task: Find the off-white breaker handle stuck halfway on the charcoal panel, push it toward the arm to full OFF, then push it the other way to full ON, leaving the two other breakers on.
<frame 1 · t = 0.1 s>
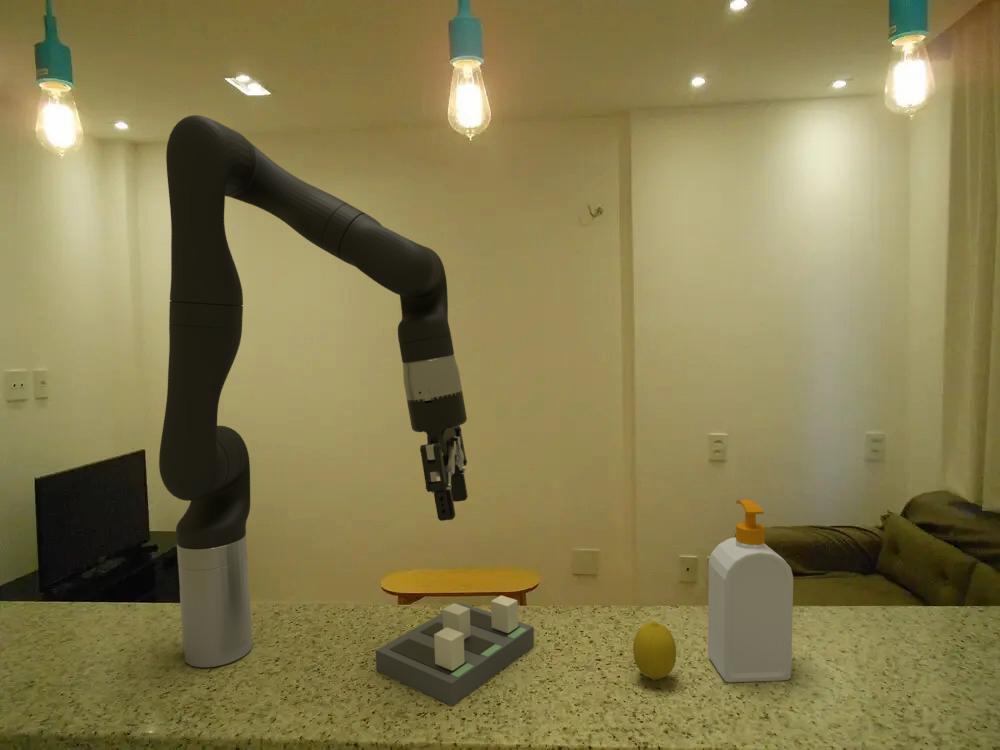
hand: (454, 509, 88), 22 cm above the counter, tool pointing down, fingers open, 8 cm apart
breaker 2: (504, 613, 94), point 5 cm above the counter, slide at 8.0 cm
breaker 1: (449, 648, 85), point 5 cm above the counter, slide at 8.0 cm
breaker tripped: (456, 622, 92), point 5 cm above the counter, slide at 4.0 cm
soap bottle: (747, 669, 88), on the counter
breaker panel: (457, 658, 92), on the counter
lemon: (654, 681, 86), on the counter
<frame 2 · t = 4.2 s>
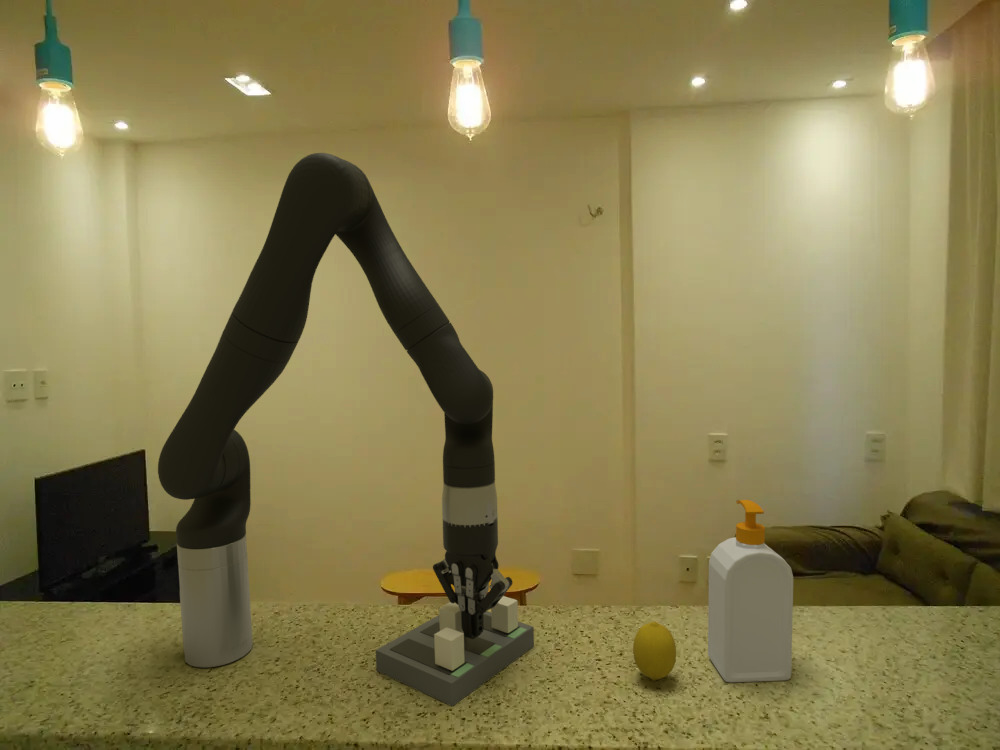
hand: (472, 635, 90), 4 cm above the counter, tool pointing down, fingers closed
breaker tripped: (452, 621, 92), point 5 cm above the counter, slide at 3.3 cm, touching gripper
everything else where it was.
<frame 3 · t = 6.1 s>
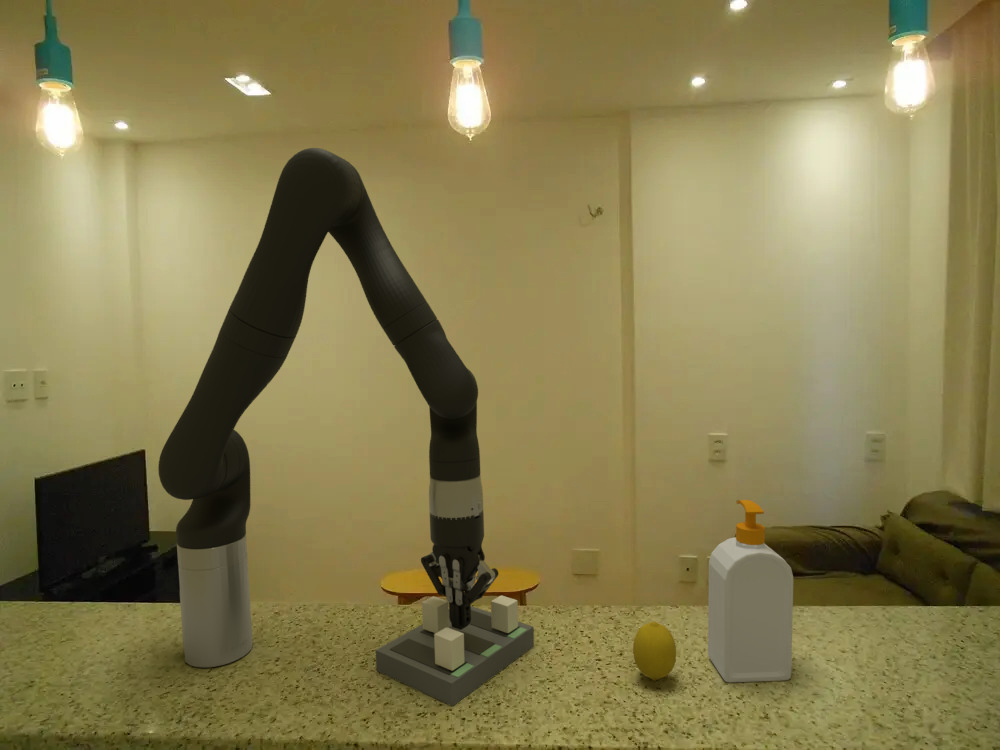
hand: (460, 626, 92), 5 cm above the counter, tool pointing down, fingers closed
breaker tripped: (435, 614, 94), point 5 cm above the counter, slide at -0.1 cm
everything else where it was.
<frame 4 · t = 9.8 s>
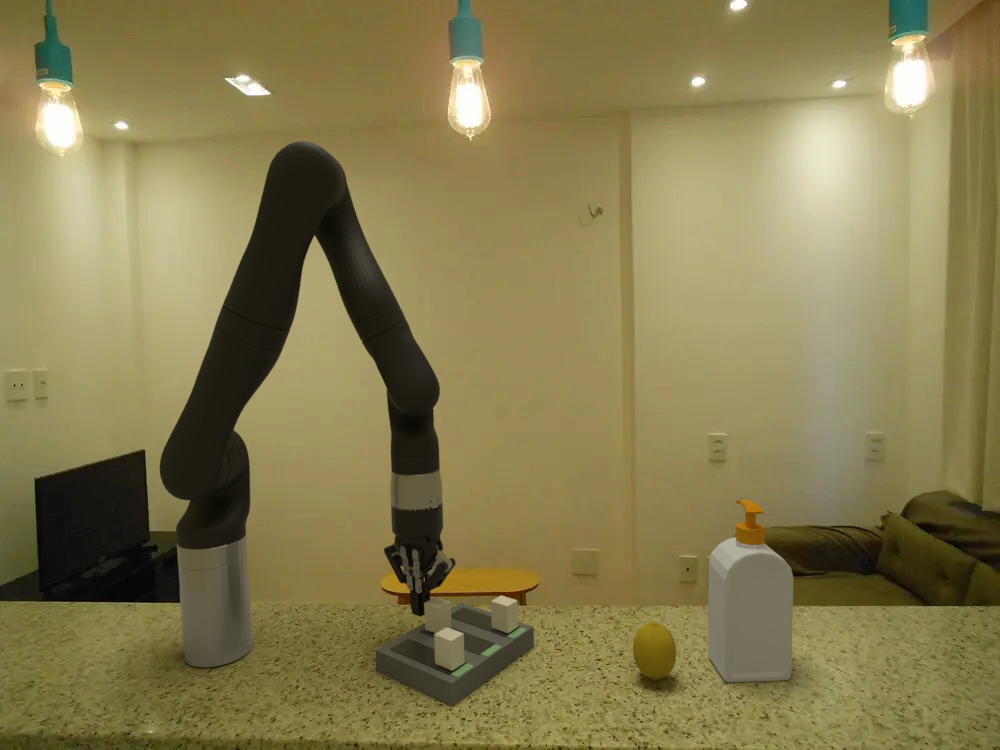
hand: (420, 613, 97), 5 cm above the counter, tool pointing down, fingers closed
breaker tripped: (437, 615, 94), point 5 cm above the counter, slide at 0.4 cm, touching gripper
everything else where it was.
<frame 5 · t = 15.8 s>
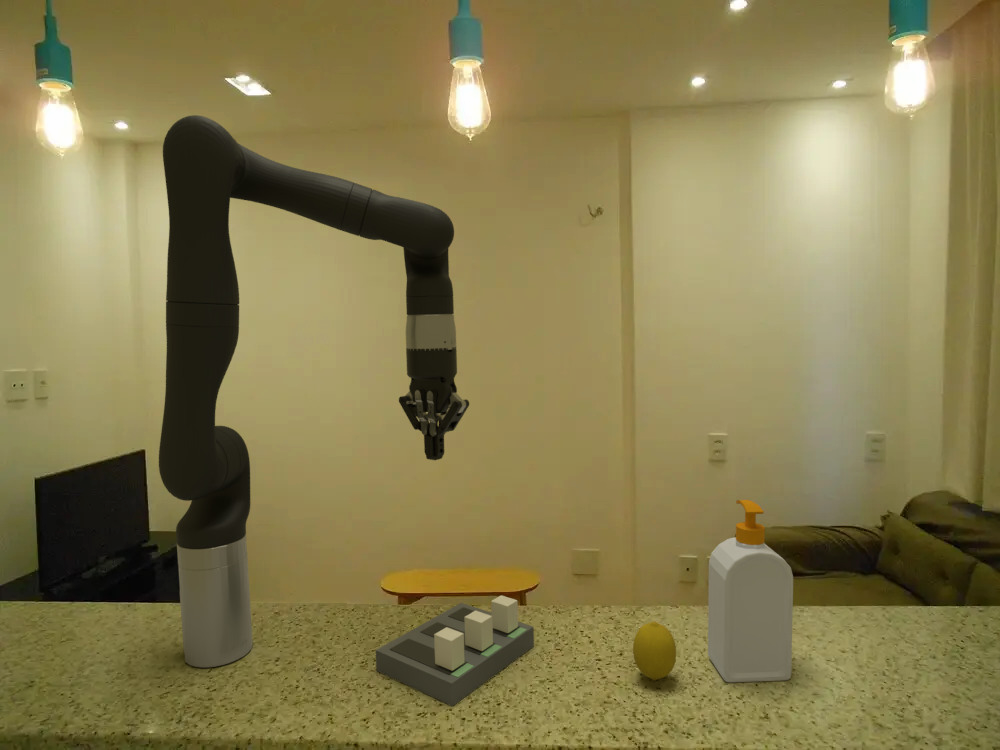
hand: (434, 458, 99), 27 cm above the counter, tool pointing down, fingers closed
breaker tripped: (478, 630, 90), point 5 cm above the counter, slide at 8.1 cm
everything else where it was.
at the end: breaker tripped slide at 8.1 cm; breaker 1 slide at 8.0 cm; breaker 2 slide at 8.0 cm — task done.
